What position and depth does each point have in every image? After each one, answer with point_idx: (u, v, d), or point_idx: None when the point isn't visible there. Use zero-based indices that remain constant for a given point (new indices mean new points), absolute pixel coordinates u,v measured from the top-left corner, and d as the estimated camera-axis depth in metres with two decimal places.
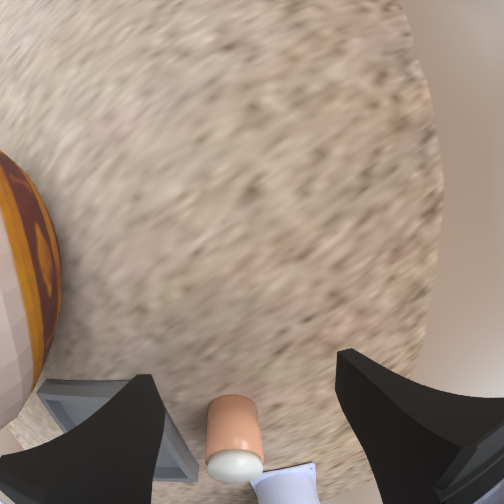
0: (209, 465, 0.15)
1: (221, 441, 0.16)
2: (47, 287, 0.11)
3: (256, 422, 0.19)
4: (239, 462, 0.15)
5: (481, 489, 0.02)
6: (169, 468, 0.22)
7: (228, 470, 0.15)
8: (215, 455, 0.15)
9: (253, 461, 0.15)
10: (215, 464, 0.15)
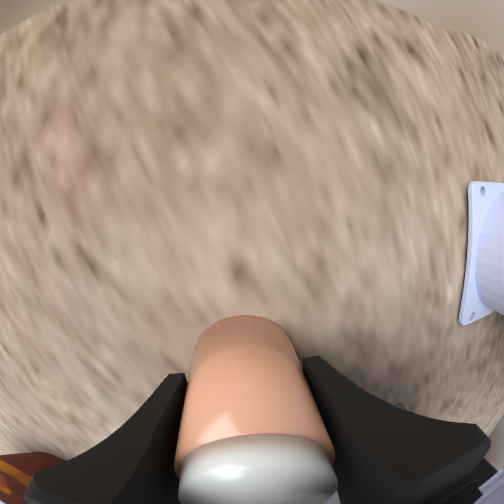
0: None
1: None
2: (2, 490, 0.05)
3: (218, 354, 0.08)
4: (197, 496, 0.04)
5: None
6: None
7: None
8: None
9: (193, 480, 0.04)
10: None
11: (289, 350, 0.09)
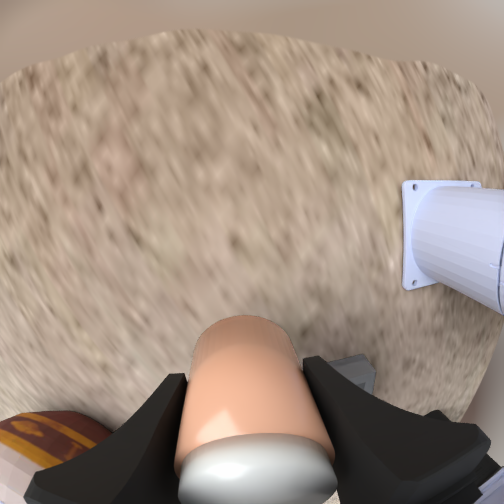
0: None
1: None
2: (34, 434, 0.11)
3: (217, 354, 0.08)
4: (196, 495, 0.04)
5: None
6: None
7: None
8: None
9: (193, 479, 0.04)
10: None
11: (289, 350, 0.09)
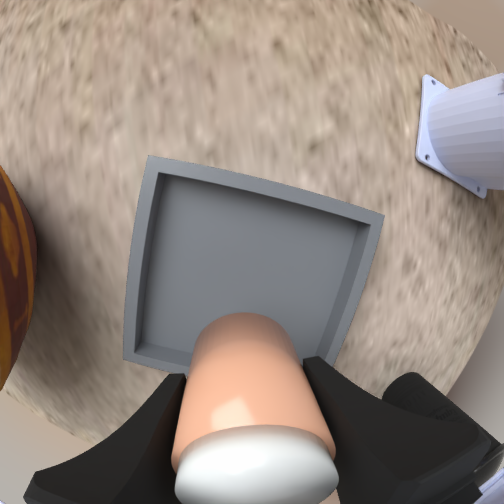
0: None
1: None
2: None
3: (216, 349, 0.09)
4: (194, 491, 0.04)
5: None
6: (350, 256, 0.17)
7: None
8: None
9: (190, 472, 0.04)
10: None
11: (288, 345, 0.09)
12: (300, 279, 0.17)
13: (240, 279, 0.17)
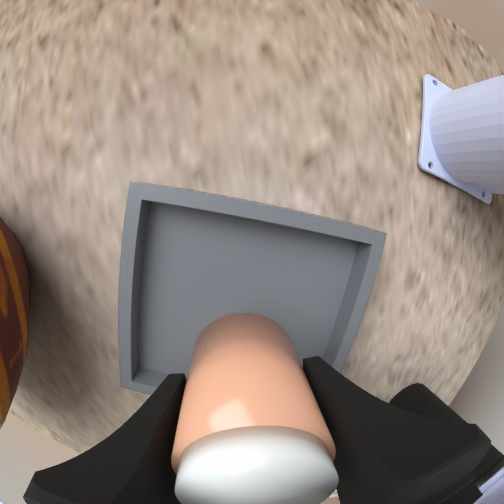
0: None
1: None
2: None
3: (216, 350, 0.08)
4: (194, 491, 0.04)
5: None
6: (350, 277, 0.16)
7: None
8: None
9: (190, 473, 0.04)
10: None
11: (288, 346, 0.09)
12: (298, 302, 0.16)
13: (235, 305, 0.16)
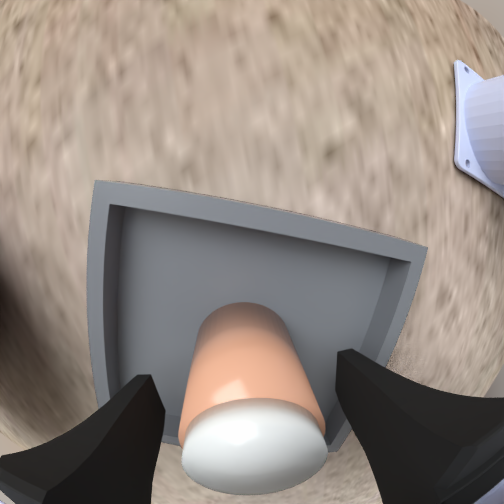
0: (223, 490, 0.06)
1: None
2: None
3: (218, 334, 0.10)
4: (199, 460, 0.05)
5: (481, 489, 0.02)
6: (379, 300, 0.12)
7: (243, 475, 0.06)
8: None
9: (196, 440, 0.05)
10: (210, 486, 0.06)
11: (283, 332, 0.11)
12: (315, 333, 0.13)
13: None
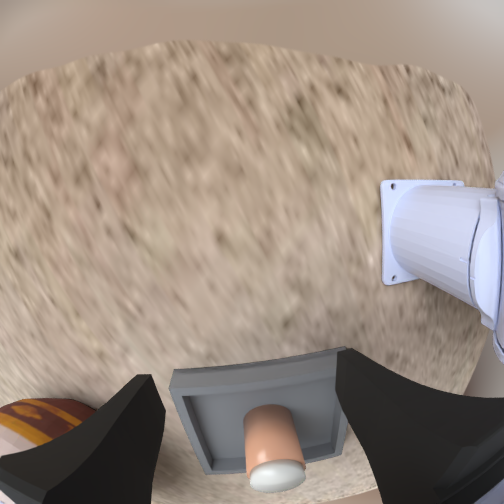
0: (270, 491, 0.15)
1: None
2: (33, 416, 0.13)
3: (252, 430, 0.18)
4: (256, 484, 0.14)
5: (481, 489, 0.02)
6: None
7: (275, 485, 0.14)
8: None
9: (253, 478, 0.14)
10: (264, 491, 0.15)
11: (283, 419, 0.19)
12: (304, 406, 0.21)
13: None
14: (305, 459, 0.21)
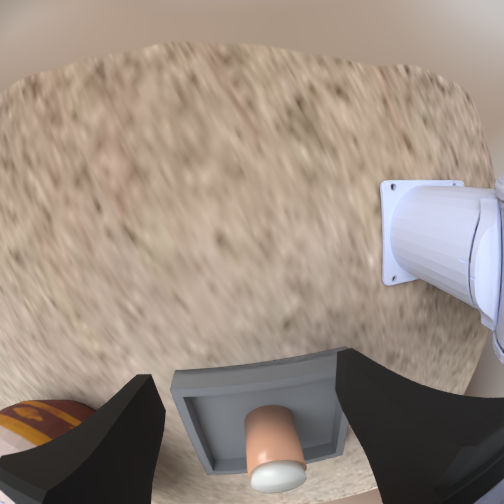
0: (271, 491, 0.15)
1: None
2: (35, 418, 0.13)
3: (254, 431, 0.18)
4: (257, 484, 0.14)
5: (481, 489, 0.02)
6: None
7: (275, 485, 0.14)
8: None
9: (254, 479, 0.14)
10: (264, 491, 0.15)
11: (284, 420, 0.19)
12: (305, 406, 0.21)
13: None
14: (306, 459, 0.21)
